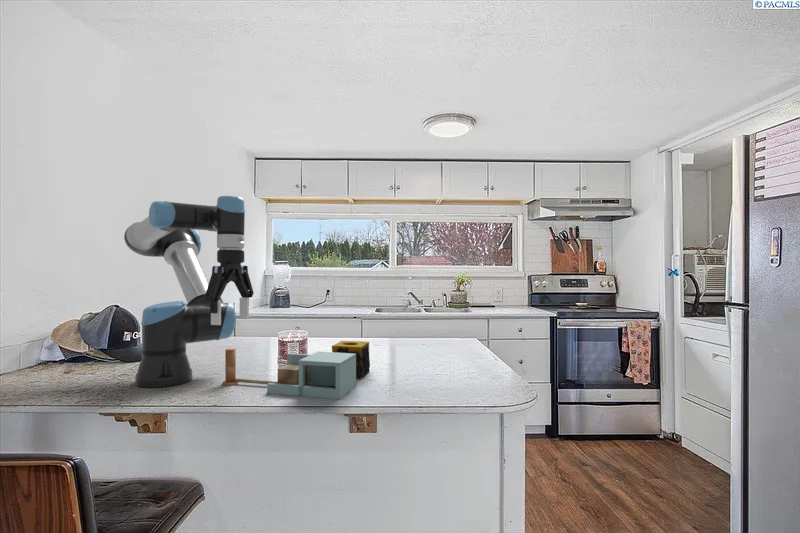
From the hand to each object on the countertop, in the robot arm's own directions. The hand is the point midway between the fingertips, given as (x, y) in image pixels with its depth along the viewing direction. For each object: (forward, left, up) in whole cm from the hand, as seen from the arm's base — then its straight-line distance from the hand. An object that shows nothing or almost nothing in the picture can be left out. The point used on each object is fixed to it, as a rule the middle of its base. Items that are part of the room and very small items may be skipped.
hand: (230, 321), depth 132 cm
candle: (+31, +19, -18) cm, 40 cm away
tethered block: (+10, 0, -18) cm, 21 cm away
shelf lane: (+26, 0, -18) cm, 31 cm away
